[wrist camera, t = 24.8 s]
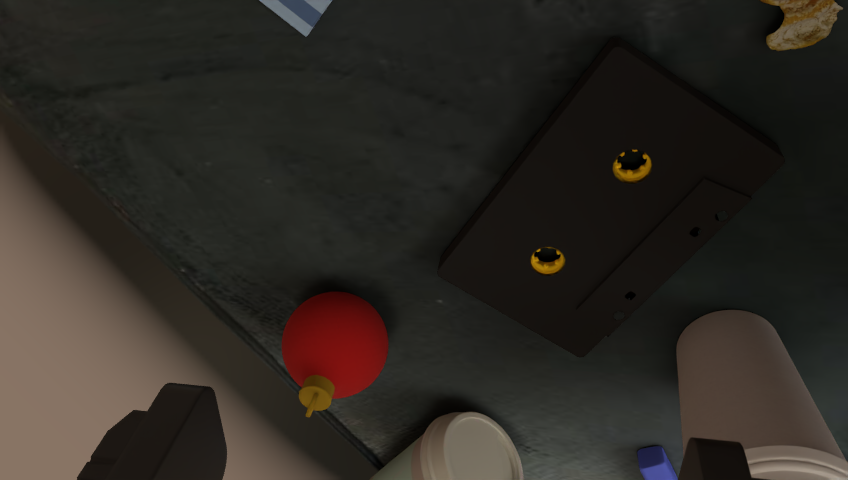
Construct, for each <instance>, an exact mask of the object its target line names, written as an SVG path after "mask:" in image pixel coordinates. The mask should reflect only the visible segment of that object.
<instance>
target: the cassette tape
mask: <svg viewBox="0 0 848 480" xmlns="http://www.w3.org/2000/svg"><path fill="white" fill-rule="evenodd" d="M628 150H632V151H634V152H636V151H637V150H639V151H642V152H644V153H645V154H642V156H643V158H644V159H646V158H647V161H646V163H645V164H644V165H641V166H640V167H639V168H638V169H636V170H624V169H621V167H622V166H621V163H617V158H618V157H619V156H621V157H622V156H624V154H625V151H628ZM784 163H785V159H784V157H783V155H782V153H781V152H780V150H779V148H778V146H777V145H776V144H775V143H773V142H772V141H770V140H769V139H767V138H766V137H764V136H763V135H761V134H760V133H759V132H757V131H756V130H754V129H753V128H751V127H750V126H748V125H747V124H745V123H744V122H742V121H741V120H739V119H738V118H736V117H735V116H734V115H732V114H731V113H729V112H728V111H726V110H725V109H723V108H722V107H720V106H719V105H717V104H716V103H714V102H713V101H711V100H710V99H709V98H707V97H706V96H704V95H703V94H701V93H700V92H698V91H697V90H695V89H694V88H692V87H691V86H689V85H688V84H686V83H685V82H684V81H682V80H681V79H679V78H678V77H676V76H675V75H673V74H672V73H670V72H669V71H667V70H666V69H664V68H663V67H662V66H660V65H659V64H657V63H656V62H654V61H653V60H651V59H650V58H648V57H647V56H645V55H644V54H642V53H641V52H639V51H638V50H637V49H635V48H634V47H632V46H631V45H629V44H628V43H626V42H625V41H623V40H622V39H620V38H618V37H614V38H612V39H611V40H610V41H609V42H608V44H607V45H606V46H605V47H604V49H603V50H602V51H601V53H600V54H599V55H598V56H597V58H596V59H595V60H594V61H593V63H592V64H591V65H590V67H589V68H588V69H587V70H586V72H585V73H584V74H583V76H582V77H581V78H580V79H579V81H578V82H577V83H576V85H575V86H574V87H573V88H572V90H571V91H570V92H569V94H568V95H567V96H566V97H565V99H564V100H563V101H562V102H561V104H560V105H559V106H558V108H557V109H556V110H555V111H554V113H553V114H552V115H551V117H550V118H549V119H548V120H547V122H546V123H545V124H544V126H543V127H542V128H541V129H540V131H539V132H538V133H537V135H536V136H535V137H534V138H533V140H532V141H531V142H530V143H529V145H528V146H527V147H526V149H525V150H524V151H523V152H522V154H521V155H520V156H519V158H518V159H517V160H516V161H515V163H514V164H513V165H512V167H511V168H510V169H509V170H508V172H507V173H506V174H505V176H504V177H503V178H502V179H501V181H500V182H499V183H498V184H497V186H496V187H495V188H494V190H493V191H492V192H491V193H490V195H489V196H488V197H487V199H486V200H485V201H484V202H483V204H482V205H481V206H480V208H479V209H478V210H477V211H476V213H475V214H474V215H473V216H472V218H471V219H470V220H469V222H468V223H467V224H466V225H465V227H464V228H463V229H462V231H461V232H460V233H459V234H458V236H457V237H456V238H455V240H454V241H453V242H452V243H451V245H450V246H449V247H448V249H447V250H446V251H445V252H444V254H443V255H442V256H441V258H440V262H439V267H438V271H437V274H438V276H439V277H441V278H443V279H444V280H446V281H448V282H450V283H451V284H453V285H455V286H456V287H458V288H460V289H462V290H463V291H465V292H467V293H469V294H470V295H472V296H474V297H475V298H477V299H479V300H481V301H482V302H484V303H486V304H487V305H489V306H491V307H493V308H494V309H496V310H498V311H499V312H501V313H503V314H505V315H506V316H508V317H510V318H512V319H513V320H515V321H517V322H518V323H520V324H522V325H524V326H525V327H527V328H529V329H530V330H532V331H534V332H536V333H537V334H539V335H541V336H543V337H544V338H546V339H548V340H549V341H551V342H553V343H555V344H556V345H558V346H560V347H561V348H563V349H565V350H567V351H568V352H570V353H572V354H574V355H575V356H577V357H584V356H585V355H586V354H587V353H588V352H589V351H590V350H591V349H593V348H594V347H595V346H596V345H597V344H598V343H599V342H600V341H601V340H602V339H603V338H604V337H605V336H607V337H608V336H609V335H610V334H611V333H612V332H613V331H615V330H616V329H617V328H618V327H619V326H620V325H621V324H622V323H623V322H624V321H625V320H626V319H627V318H628V317H629V316H630V315H631V314H632V313H633V312H634V311H635V310H636V309H637V308H639V307H640V306H641V305H642V304H643V303H644V302H645V301H646V300H647V299H648V298H649V297H650V296H651V295H652V294H653V293H654V292H655V291H656V290H657V289H658V288H659V287H660V286H661V285H662V284H664V283H665V282H666V281H667V280H668V279H669V278H670V277H671V276H672V275H673V274H674V273H675V272H676V271H677V270H678V269H679V268H680V267H681V266H682V265H683V264H684V263H685V262H686V261H688V260H689V259H690V258H691V257H692V256H693V255H694V254H695V253H696V252H697V251H698V250H699V249H700V248H701V247H702V246H703V245H704V244H705V243H706V242H707V241H708V240H709V239H710V238H712V237H713V236H714V235H715V234H716V233H717V232H718V231H719V230H720V229H721V228H722V227H723V226H724V225H725V224H726V223H727V222H728V221H729V220H730V219H731V218H732V217H733V216H734V215H735V214H737V213H738V212H739V211H740V210H741V209H742V208H743V207H744V206H745V205H746V204H747V203H748V202H749V201H750V200H751V199H752V198H751V195H753V194H754V193H755V192H756V191H757V190H758V189H759V188H760V187H761V186H762V185H763V184H764V183H765V182H766V181H767V180H768V179H769V178H770V177H771V176H772V175H773V174H774V173H775V172H776V171H777V170H778V169H780V168H781V167H782V166H783V164H784ZM719 211H725V212H727V213H728V217H727V219H726V220H724V221H719V220H718V217H717V214H716V213H717V212H719ZM699 229H701V233H700V234H699V235H698V232H697V231H698V230H699ZM541 248H553V249H556V252H557V254H558V255H559V254H561V257H560V258H558V259H556V260H554V261H542V260H539V259H538V257H535V256H534V253H535V252H536V251H537V252H539V251H540V249H541ZM629 297H630V300H628V298H629ZM617 311H621V312H623V313H624V315H625V316H624V318H623V319H621V320H616V319H615V318H614V317H613V314H614V313H615V312H617Z"/></svg>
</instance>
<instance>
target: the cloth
mask: <svg viewBox="0 0 848 480" xmlns="http://www.w3.org/2000/svg"><path fill="white" fill-rule="evenodd" d="M259 1H260V2H262V3H263V4H264V5H266V6H267V7H268V8H270V9H271V10H272V11H273V12H275V13H276V14H277V15H279V16H280V17H281V18H282V19H284V20H285V21H286V22H288V23H289V24H290V25H291V26H293V27H294V28H295V29H297V30H298V31H299V32H300V33H302V34H303V35H304V36H306V37H307V36H308V34H309V33H310V32H311V30H312V29H313V27H314V26H315V24H316V23H317V21H318V20H319V19H320V17H321V16H322V14H323V13H324V11H325V10H326V8H327V7H328V6H329V4H330V3H331V1H332V0H259Z"/></svg>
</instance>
